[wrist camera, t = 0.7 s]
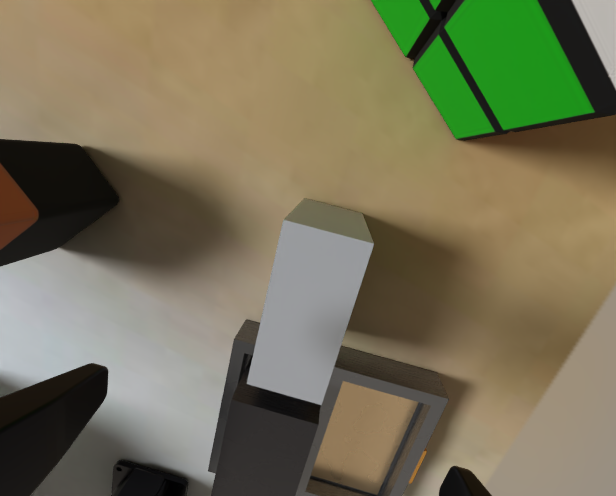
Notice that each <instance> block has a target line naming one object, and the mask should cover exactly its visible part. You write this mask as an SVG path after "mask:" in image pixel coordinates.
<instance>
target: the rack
mask: <svg viewBox="0 0 616 496" xmlns="http://www.w3.org/2000/svg"><path fill="white" fill-rule="evenodd" d="M259 326H260V323H256V322H253V321H249V320H245V322H244V324H243V325H242V327H241V329H240V330H239V332H238V334H237V335H236V337H235V339H234V343H233V348H232V353H231V358H230V363H229V368H228V373H227V378H226V383H225V388H224V393H223V398H222V403H221V408H220V413H219V418H218V423H217V428H216V433H215V438H214V443H213V448H212V453H211V458H210V464H209V469H208V471H209V472H213V473H216V475H215V480H214V484H213V489H212V494H211V496H402V495H403V493H404V491H405V489H406V487H407V485H408V483H410V484H411V483H412V481H413V479H414V477H415V475H416V473H417V471H418V469H419V467H420V465H421V463H422V461H423V459H424V457H425V455H426V453H427V450H426V446H427V443H428V441H429V439H430V437H431V435H432V433H433V431H434V429H435V427H436V425H437V423H438V421H439V419H440V417H441V415H442V412H443V410H444V408H445V406H446V404H447V402H448V400H449V398H448V396H447V394H446V392H445V389H444V387H443V385H442V383H441V381H440V378H439V376H438V374H437V373H436V372H433V371H429V370H426V369H422V368H418V367H415V366H411V365H408V364H404V363H400V362H397V361H393V360H390V359H386V358H382V357H379V356H375V355H372V354H368V353H364V352H361V351H357V350H354V349H350V348H346V347H343V346H341V347H340V350H339V353H338V356H337V359H336V362H335V365H334V369H333V372H332V375H331V378H330V381H329V384H328V387H327V390H326V393H325V396H324V399H323V402H322V405H319V404H315V403H312V402H308V401H305V400H301V399H298V398H294V397H291V396H287V395H284V394H280V393H277V392H273V391H270V390H266V389H263V388H259V387H256V386H252V385H249V384H247V380H248V375H249V371H250V366H251V362H252V358H253V353H254V349H255V344H256V340H257V335H258V331H259Z"/></svg>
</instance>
